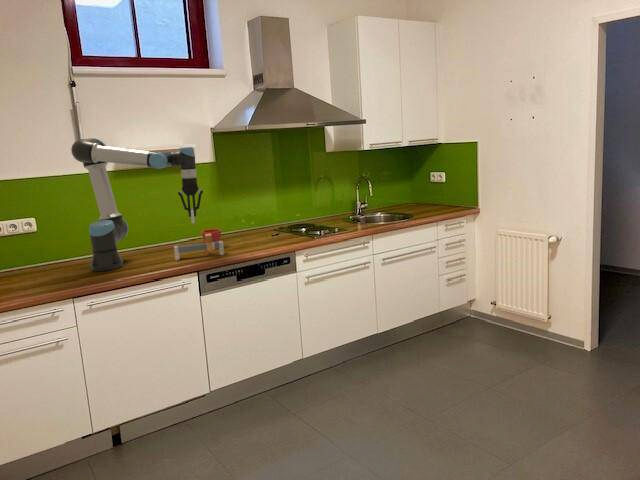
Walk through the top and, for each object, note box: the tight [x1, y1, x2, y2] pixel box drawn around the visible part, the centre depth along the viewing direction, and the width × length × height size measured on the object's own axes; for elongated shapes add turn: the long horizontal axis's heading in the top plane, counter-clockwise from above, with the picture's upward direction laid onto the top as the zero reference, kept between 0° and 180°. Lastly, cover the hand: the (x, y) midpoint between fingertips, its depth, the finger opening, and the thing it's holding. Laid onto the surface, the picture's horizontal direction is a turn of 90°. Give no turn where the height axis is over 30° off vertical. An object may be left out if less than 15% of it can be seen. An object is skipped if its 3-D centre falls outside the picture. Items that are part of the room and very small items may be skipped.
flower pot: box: [201, 228, 222, 243], centre depth 302 cm, size 11×11×10 cm
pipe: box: [173, 240, 225, 261], centre depth 281 cm, size 25×6×7 cm, turn 104°
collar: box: [205, 233, 214, 255], centre depth 281 cm, size 3×7×10 cm, turn 15°
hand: (193, 222), depth 278 cm, fingers closed
